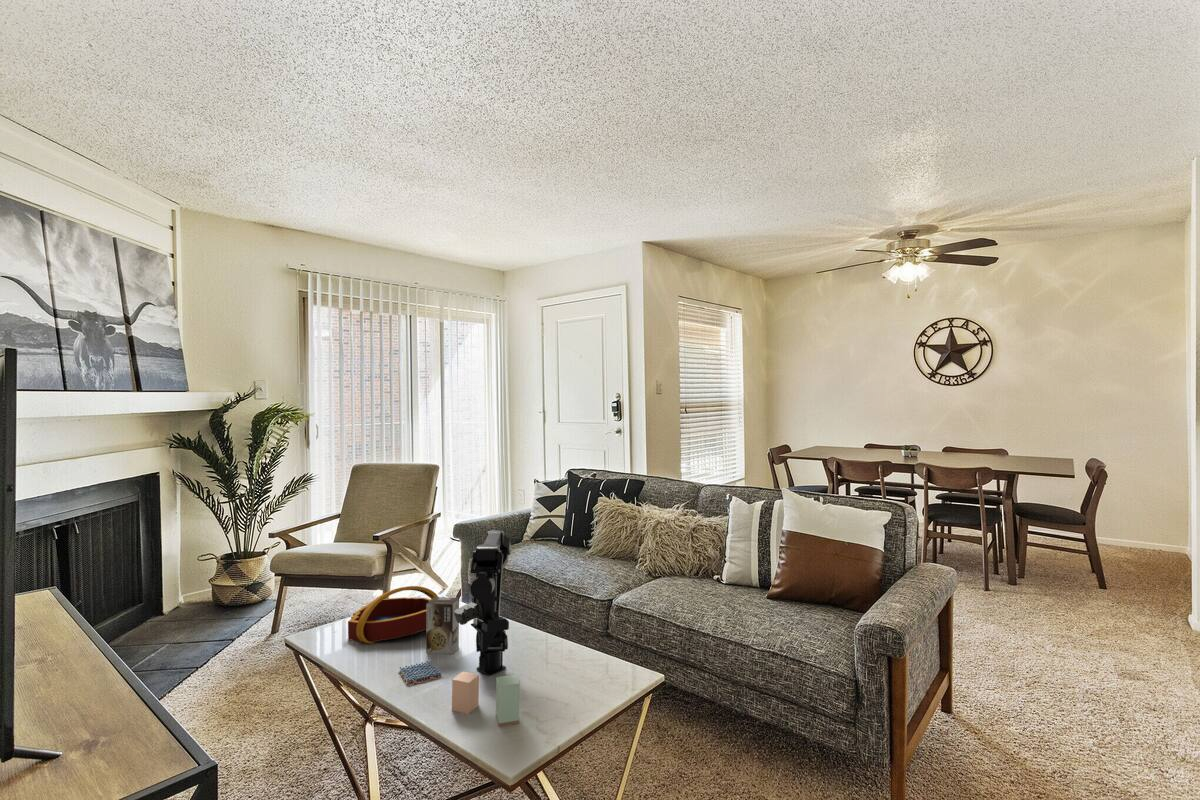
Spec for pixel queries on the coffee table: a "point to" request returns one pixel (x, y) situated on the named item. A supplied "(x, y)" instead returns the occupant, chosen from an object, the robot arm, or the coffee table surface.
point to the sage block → (507, 700)
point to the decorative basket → (390, 617)
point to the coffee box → (442, 625)
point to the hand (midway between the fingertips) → (484, 651)
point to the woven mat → (419, 673)
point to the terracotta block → (465, 692)
